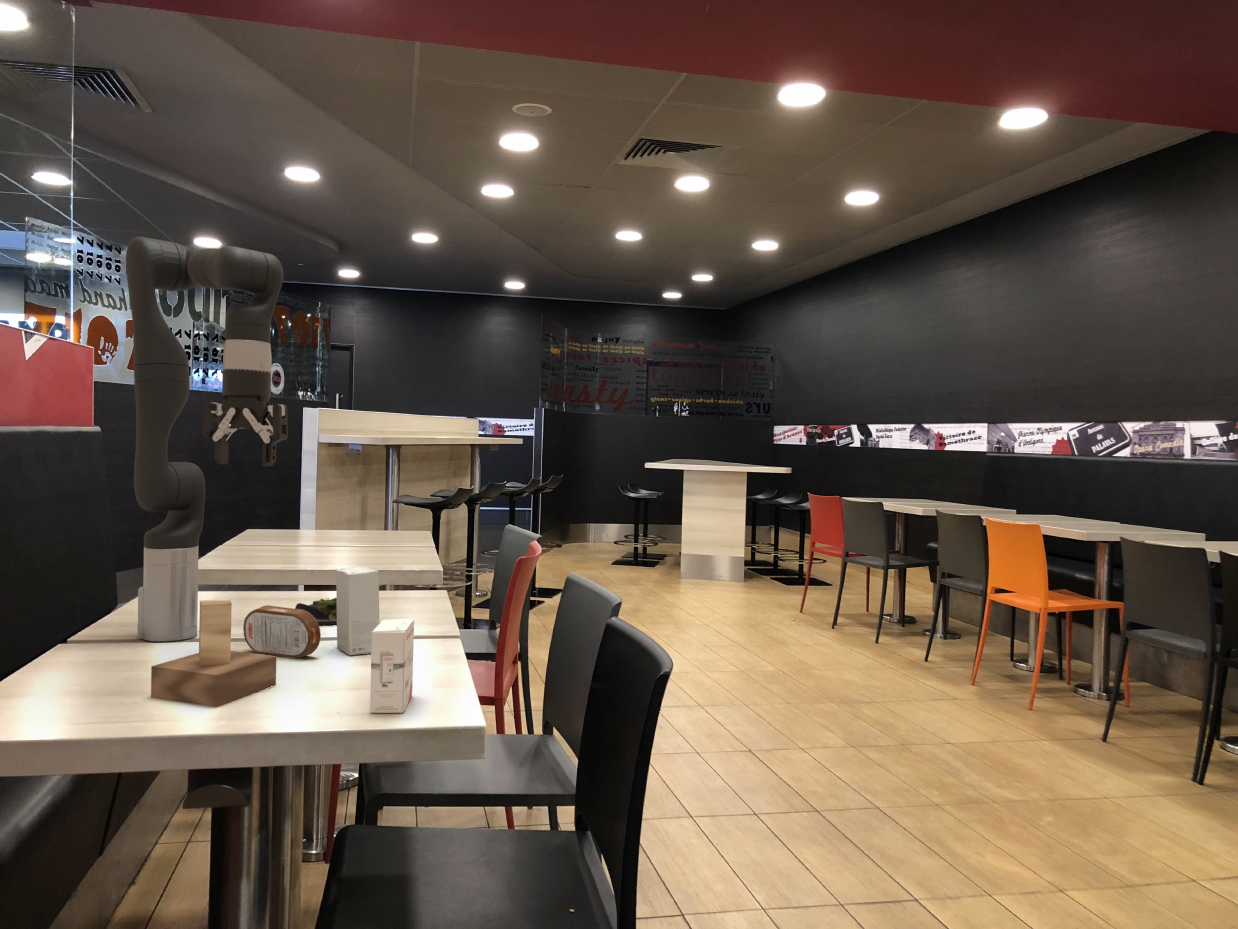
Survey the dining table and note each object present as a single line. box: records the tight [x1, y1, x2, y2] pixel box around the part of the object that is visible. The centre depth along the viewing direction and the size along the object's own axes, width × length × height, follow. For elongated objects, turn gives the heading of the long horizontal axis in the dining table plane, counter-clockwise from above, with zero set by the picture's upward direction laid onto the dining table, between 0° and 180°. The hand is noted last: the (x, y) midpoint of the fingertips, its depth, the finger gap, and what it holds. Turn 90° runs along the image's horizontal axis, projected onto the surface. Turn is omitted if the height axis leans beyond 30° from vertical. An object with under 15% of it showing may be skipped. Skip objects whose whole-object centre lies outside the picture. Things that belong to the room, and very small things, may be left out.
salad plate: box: [293, 597, 337, 627], centre depth 184 cm, size 19×18×5 cm
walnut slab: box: [150, 650, 277, 708], centre depth 128 cm, size 12×12×5 cm
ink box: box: [369, 618, 415, 714], centre depth 124 cm, size 9×5×12 cm, turn 5°
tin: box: [242, 604, 322, 659], centre depth 150 cm, size 15×3×8 cm, turn 71°
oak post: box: [198, 598, 233, 666], centre depth 127 cm, size 4×4×9 cm
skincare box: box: [335, 566, 380, 656], centre depth 155 cm, size 8×6×15 cm
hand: (244, 465), depth 144 cm, fingers open, 8 cm apart
